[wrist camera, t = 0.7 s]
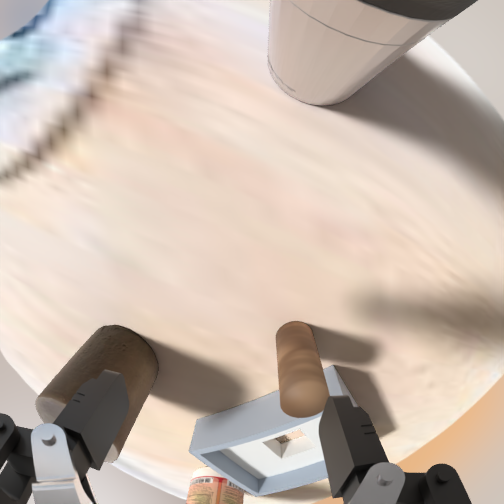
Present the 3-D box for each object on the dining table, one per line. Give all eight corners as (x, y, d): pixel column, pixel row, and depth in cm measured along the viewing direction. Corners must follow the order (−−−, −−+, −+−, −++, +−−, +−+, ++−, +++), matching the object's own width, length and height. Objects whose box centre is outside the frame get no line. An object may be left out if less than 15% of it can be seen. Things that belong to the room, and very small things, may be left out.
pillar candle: (114, 310, 30) (39, 390, 15) (175, 367, 31) (132, 466, 17) (81, 347, 32) (20, 417, 17) (134, 395, 33) (92, 476, 19)
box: (332, 364, 30) (344, 399, 25) (370, 427, 34) (381, 456, 28) (196, 419, 34) (188, 451, 28) (256, 468, 37) (255, 496, 31)
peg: (302, 314, 29) (318, 376, 19) (318, 341, 30) (337, 405, 20) (268, 332, 29) (270, 397, 20) (286, 357, 30) (294, 423, 21)
